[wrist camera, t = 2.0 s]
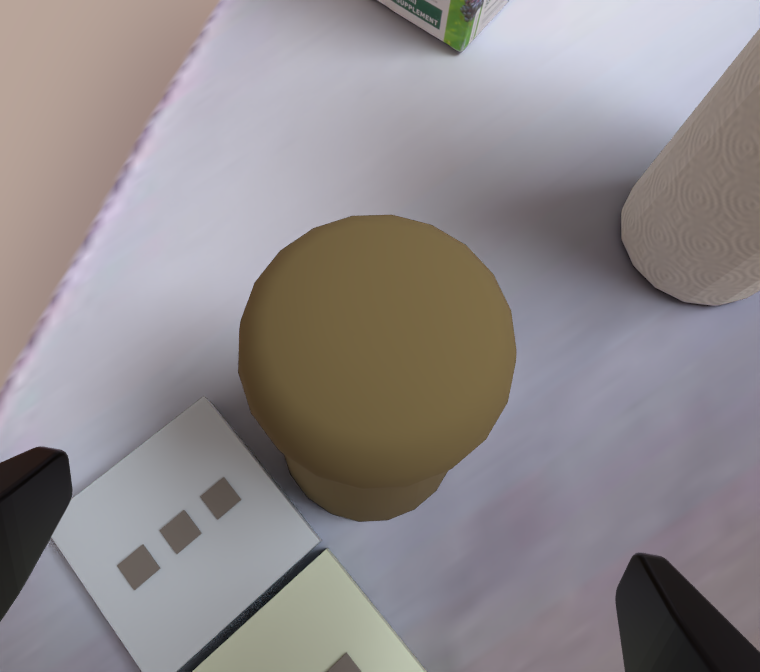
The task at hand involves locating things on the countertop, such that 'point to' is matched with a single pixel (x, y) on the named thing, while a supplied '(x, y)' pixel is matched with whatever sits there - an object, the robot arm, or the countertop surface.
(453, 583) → the countertop surface
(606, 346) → the countertop surface
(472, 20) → the syrup box
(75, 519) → the tile strip
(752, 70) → the paper towel roll
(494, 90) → the countertop surface
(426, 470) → the cork
